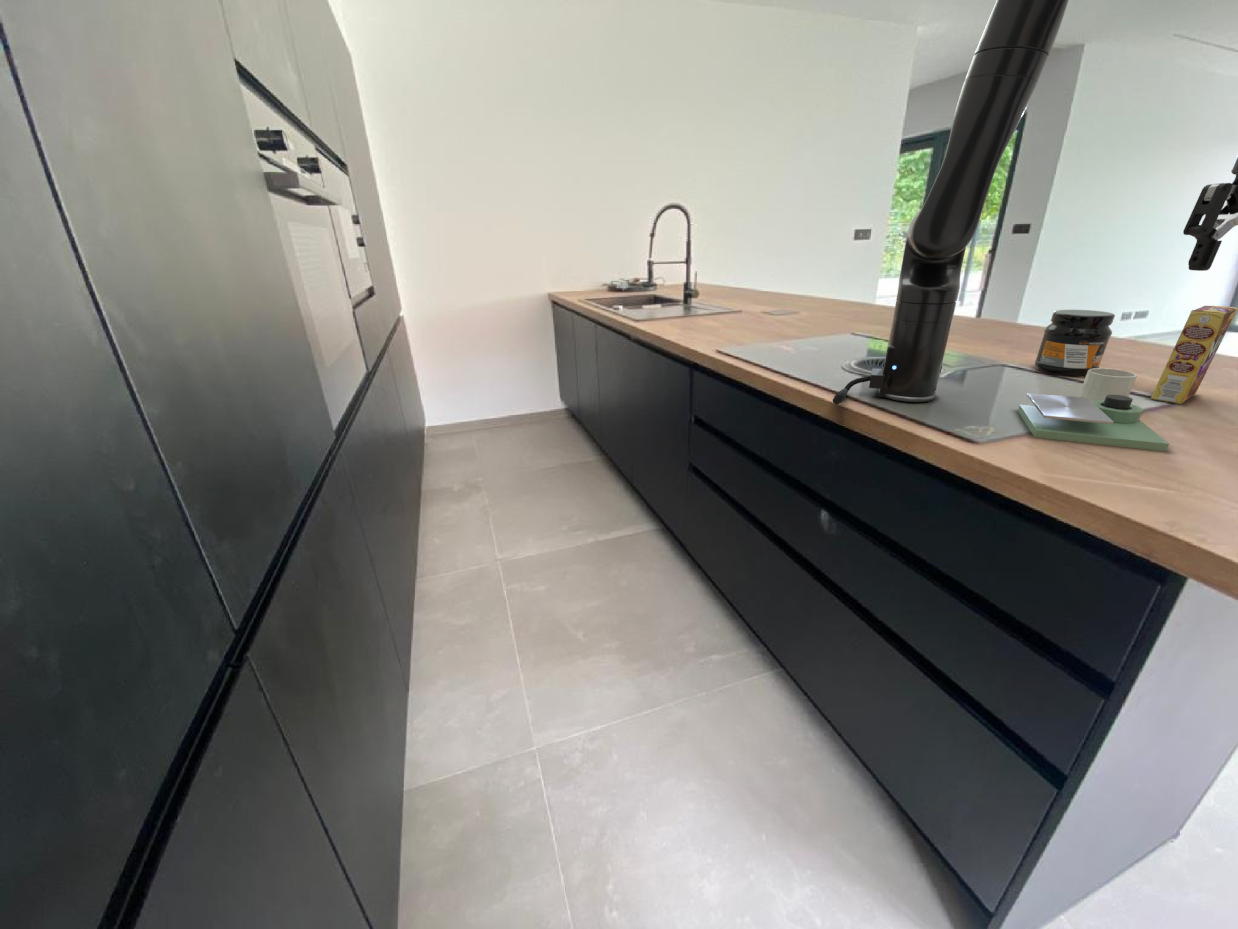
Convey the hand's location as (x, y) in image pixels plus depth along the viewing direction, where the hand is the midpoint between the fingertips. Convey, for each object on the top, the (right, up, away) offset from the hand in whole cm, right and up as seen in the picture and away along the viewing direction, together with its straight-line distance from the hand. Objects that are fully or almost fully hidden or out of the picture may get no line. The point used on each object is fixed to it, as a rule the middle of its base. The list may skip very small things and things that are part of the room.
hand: (1230, 269), depth 68 cm
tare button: (-6, -18, +9) cm, 21 cm away
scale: (-12, -21, +9) cm, 26 cm away
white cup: (+1, -16, +19) cm, 25 cm away
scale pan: (-14, -18, +9) cm, 25 cm away
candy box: (+15, -15, +21) cm, 30 cm away
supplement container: (+12, -7, +39) cm, 41 cm away
